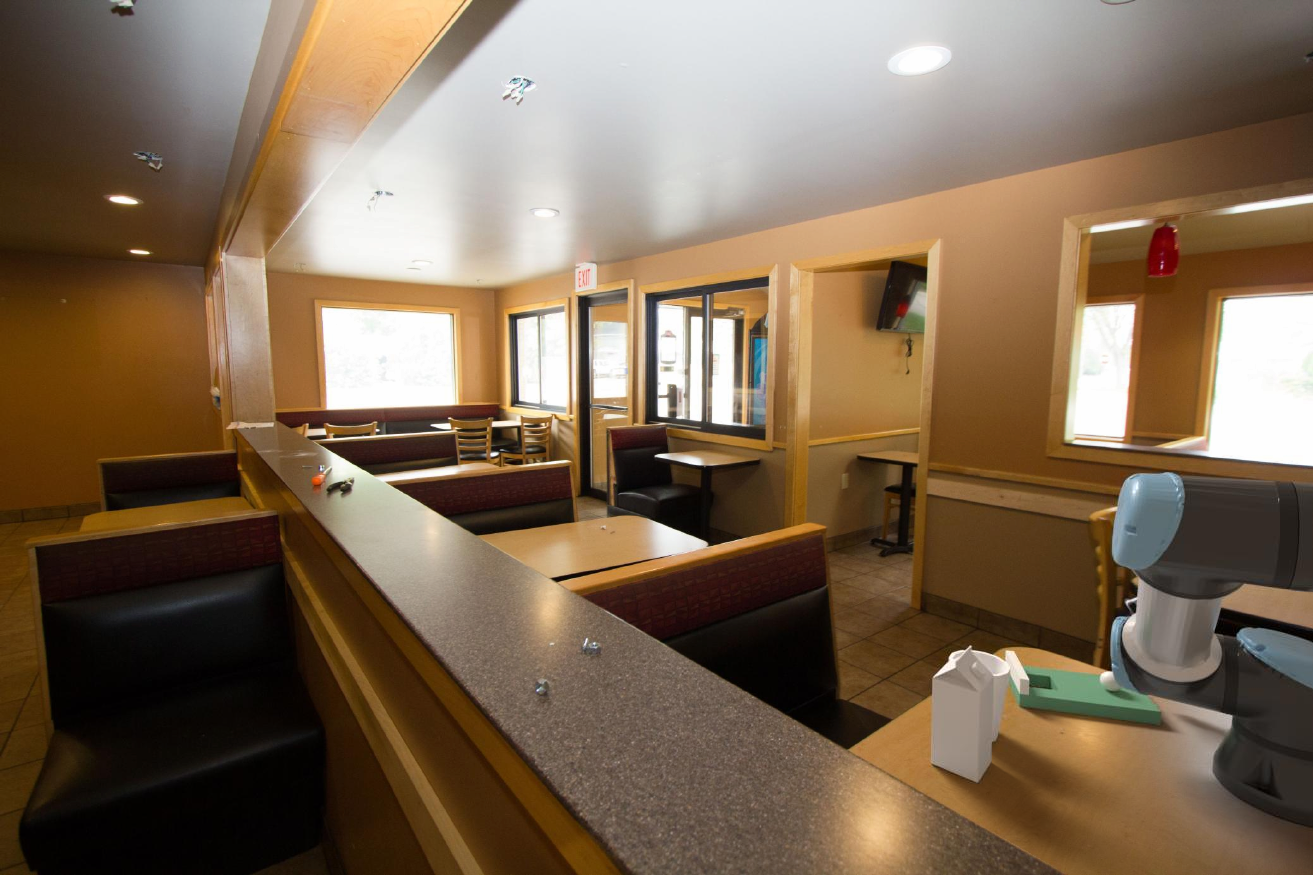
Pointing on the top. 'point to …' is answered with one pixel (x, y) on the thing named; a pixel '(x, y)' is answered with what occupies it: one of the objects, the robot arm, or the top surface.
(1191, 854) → the top surface
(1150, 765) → the top surface
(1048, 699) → the putting board
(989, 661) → the foam cup
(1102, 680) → the golf ball
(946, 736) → the milk carton
